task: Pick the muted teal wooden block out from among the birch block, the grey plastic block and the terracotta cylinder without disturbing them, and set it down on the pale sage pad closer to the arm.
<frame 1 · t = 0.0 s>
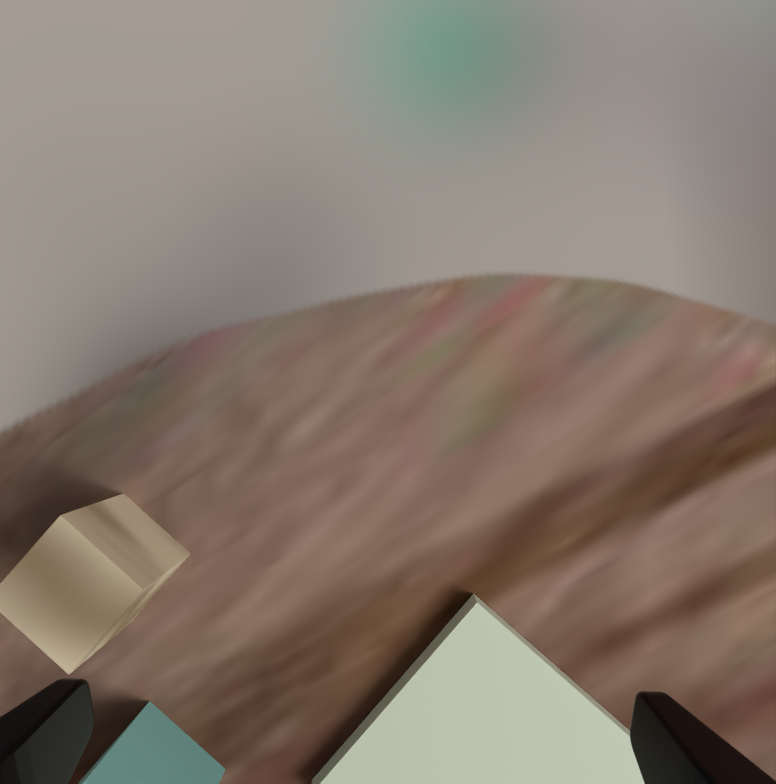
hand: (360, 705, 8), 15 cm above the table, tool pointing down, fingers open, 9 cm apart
teal block: (154, 772, 23), on the table
birch block: (127, 557, 23), on the table
sage pad: (486, 768, 23), on the table
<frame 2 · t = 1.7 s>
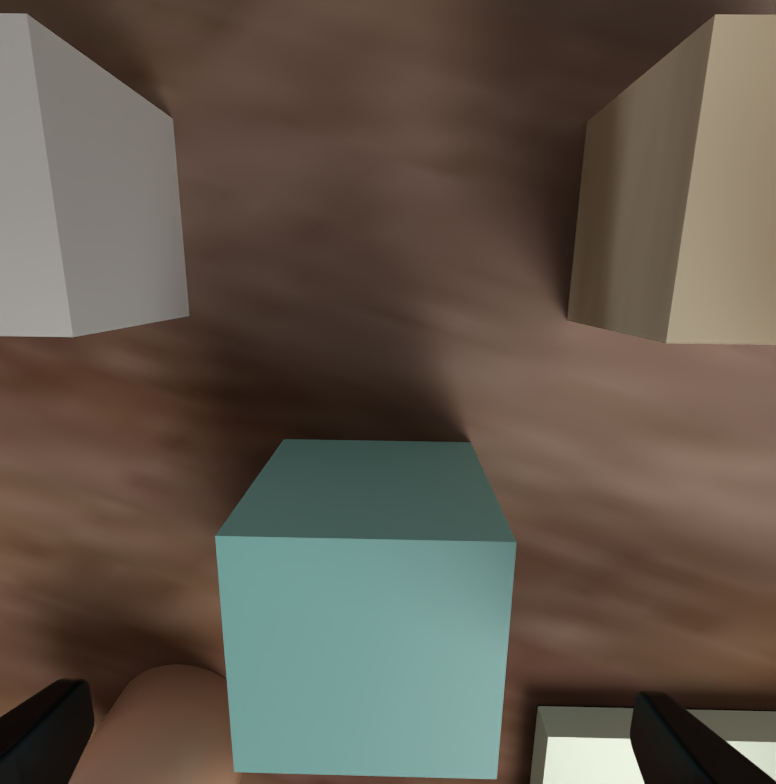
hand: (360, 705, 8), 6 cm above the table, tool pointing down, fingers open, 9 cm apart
teal block: (376, 523, 13), on the table
birch block: (669, 226, 11), on the table
grey plastic block: (91, 221, 11), on the table
terracotta cylinder: (185, 721, 15), on the table
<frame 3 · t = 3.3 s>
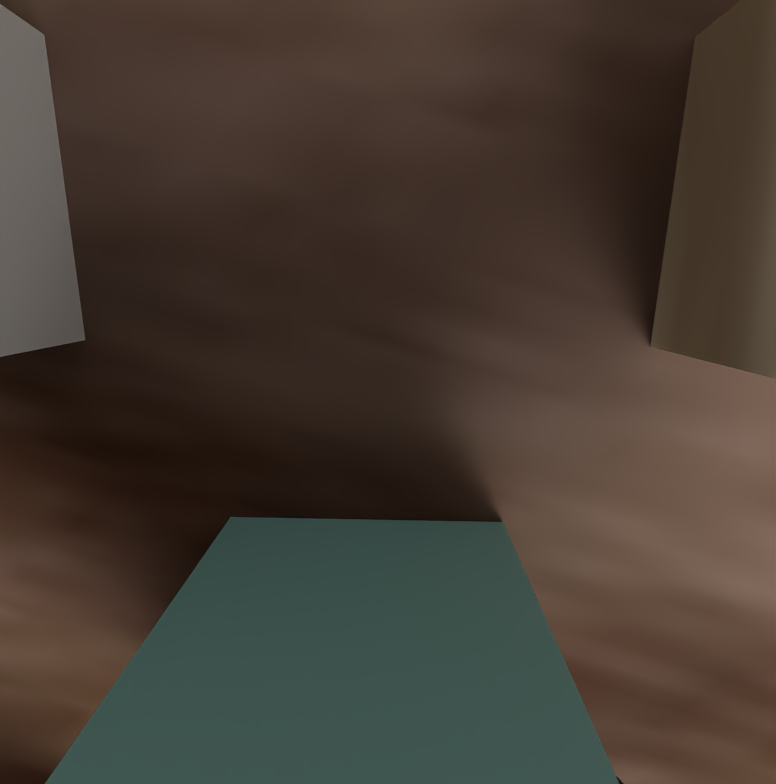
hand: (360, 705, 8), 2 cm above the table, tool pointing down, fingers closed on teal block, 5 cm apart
teal block: (365, 635, 9), on the table, touching gripper
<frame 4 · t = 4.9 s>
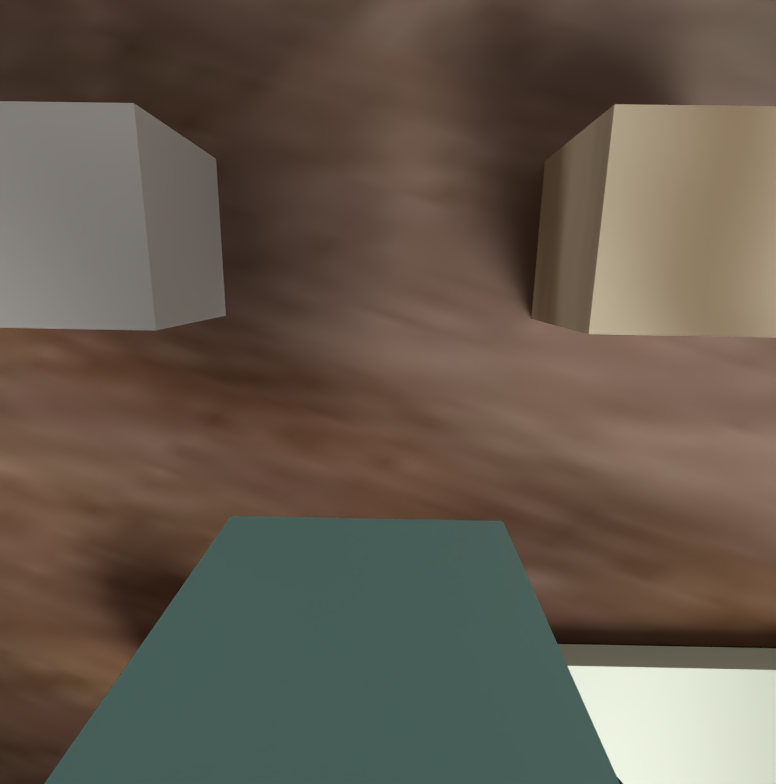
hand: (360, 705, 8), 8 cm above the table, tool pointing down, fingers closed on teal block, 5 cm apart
teal block: (366, 634, 9), point 7 cm above the table, touching gripper
birch block: (612, 244, 14), on the table
grey plastic block: (148, 239, 14), on the table
sage pad: (654, 775, 19), on the table
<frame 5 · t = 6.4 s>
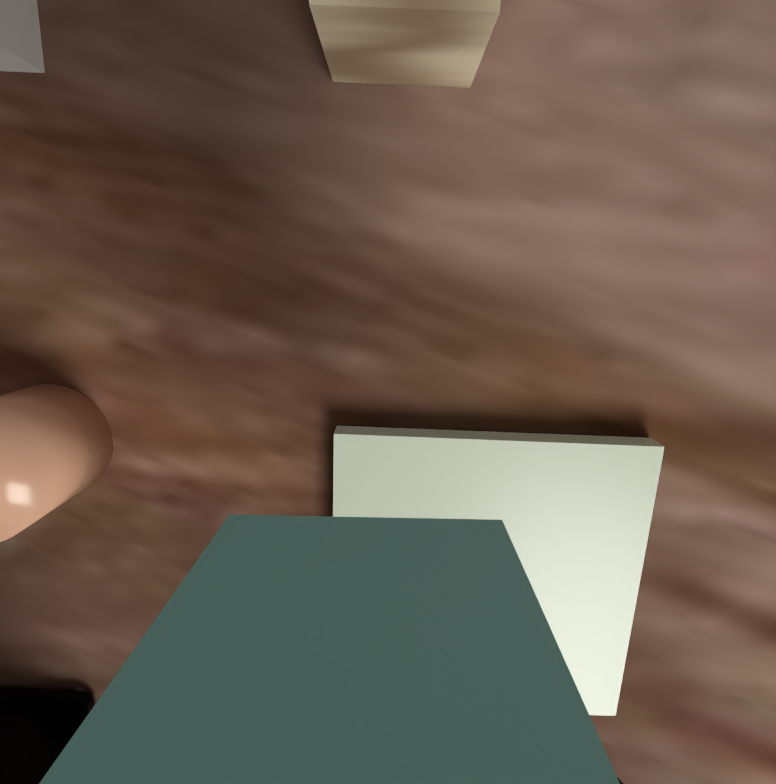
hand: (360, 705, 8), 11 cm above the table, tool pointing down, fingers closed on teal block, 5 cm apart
teal block: (365, 633, 9), point 9 cm above the table, touching gripper
birch block: (404, 6, 15), on the table
terracotta cylinder: (57, 438, 18), on the table
sage pad: (480, 569, 19), on the table
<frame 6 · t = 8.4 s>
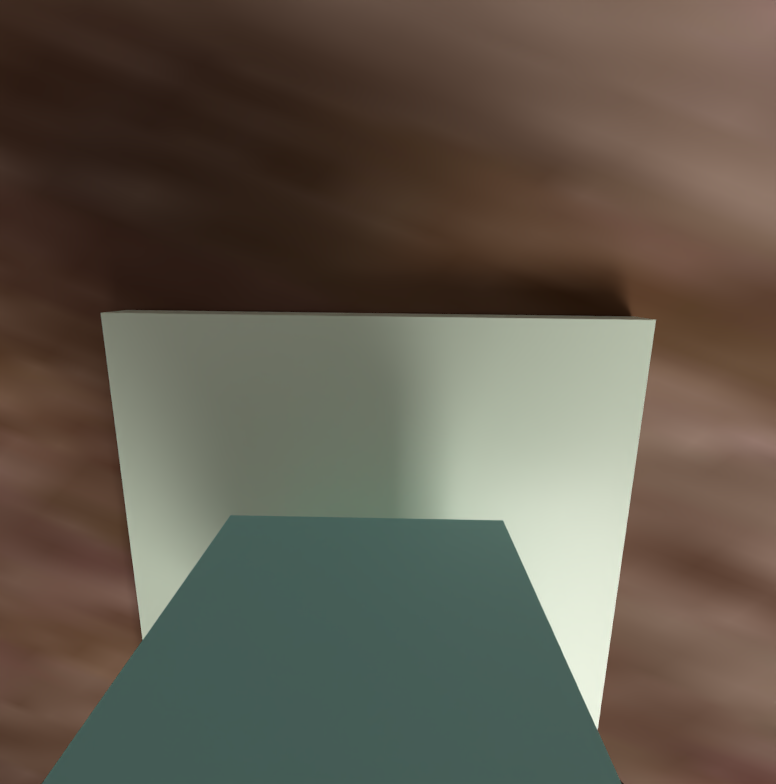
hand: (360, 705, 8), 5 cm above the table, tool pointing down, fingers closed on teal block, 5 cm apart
teal block: (366, 634, 9), point 3 cm above the table, touching gripper
sage pad: (376, 541, 13), on the table
when the fingers open (4 cm above the table, at t = 9.8 s): teal block drops 1 cm, resting on sage pad.
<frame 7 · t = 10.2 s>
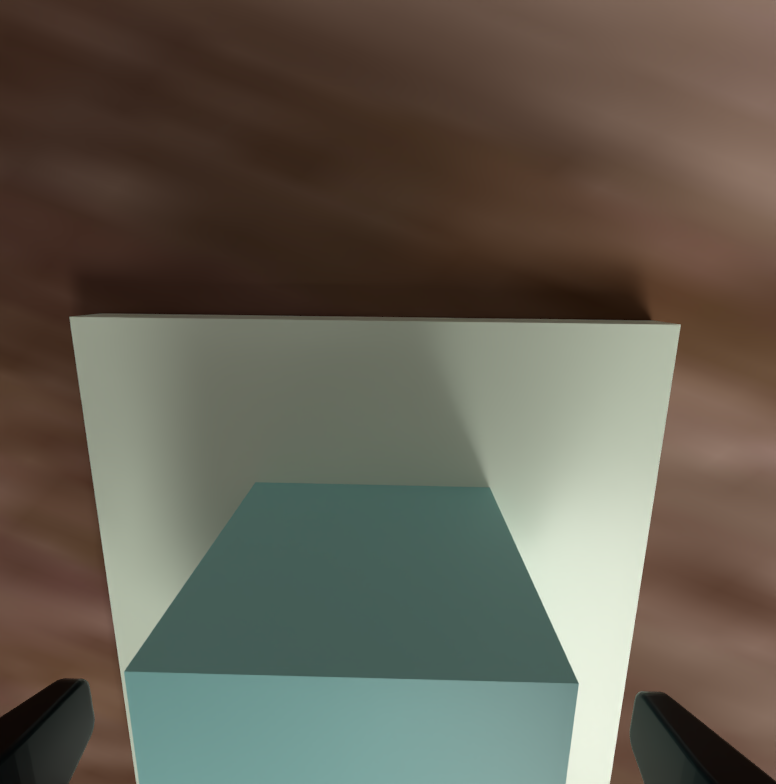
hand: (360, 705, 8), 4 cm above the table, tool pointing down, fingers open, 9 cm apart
teal block: (371, 587, 11), point 1 cm above the table, touching sage pad
sage pad: (373, 562, 12), on the table
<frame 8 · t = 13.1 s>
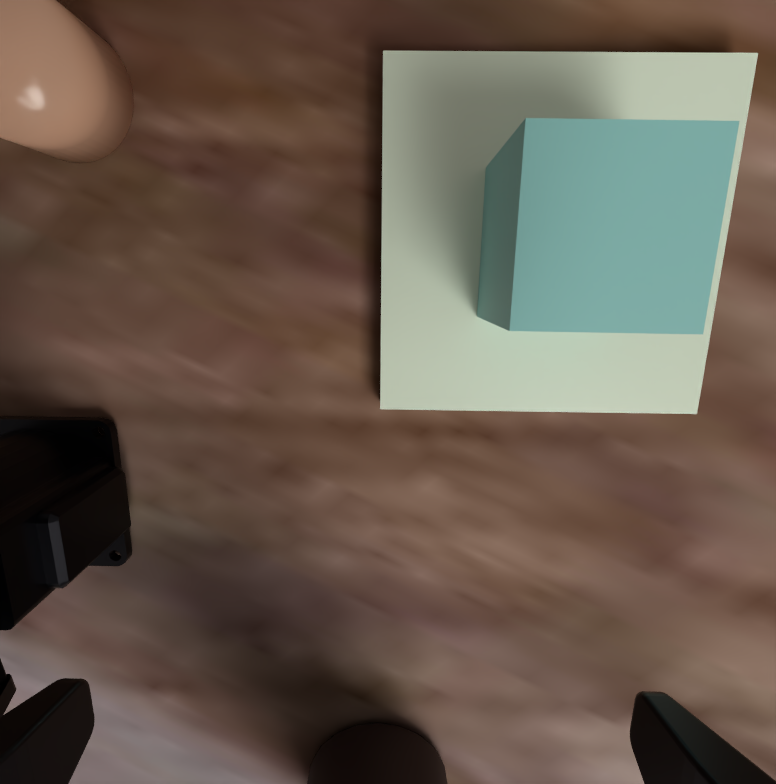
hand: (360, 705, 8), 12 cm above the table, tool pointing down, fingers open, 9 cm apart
teal block: (552, 245, 16), point 1 cm above the table, touching sage pad
terracotta cylinder: (71, 95, 17), on the table
dark water bottle: (378, 769, 24), on the table
sage pad: (543, 248, 17), on the table
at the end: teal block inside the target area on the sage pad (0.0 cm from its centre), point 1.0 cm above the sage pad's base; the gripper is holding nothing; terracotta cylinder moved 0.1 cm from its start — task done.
